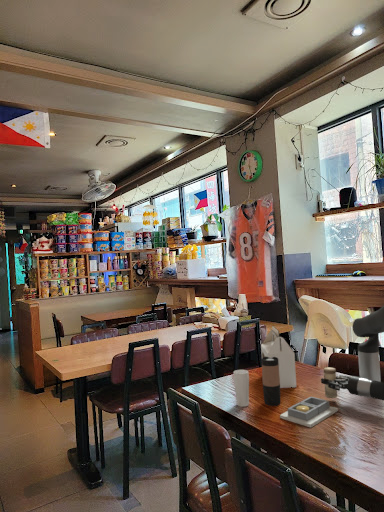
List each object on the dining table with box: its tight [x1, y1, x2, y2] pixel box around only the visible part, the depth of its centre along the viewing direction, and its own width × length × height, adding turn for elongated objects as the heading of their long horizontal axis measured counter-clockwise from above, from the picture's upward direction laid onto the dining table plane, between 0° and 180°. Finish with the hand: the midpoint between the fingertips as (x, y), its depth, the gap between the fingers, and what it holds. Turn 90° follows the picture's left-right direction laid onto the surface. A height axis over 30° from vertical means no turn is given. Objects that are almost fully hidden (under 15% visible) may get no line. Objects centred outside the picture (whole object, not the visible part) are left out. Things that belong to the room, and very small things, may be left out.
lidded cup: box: [323, 366, 338, 399], centre depth 172 cm, size 5×5×12 cm
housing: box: [279, 396, 339, 428], centre depth 160 cm, size 21×14×4 cm, turn 132°
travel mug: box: [261, 357, 282, 407], centre depth 174 cm, size 8×8×20 cm
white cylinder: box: [233, 369, 250, 408], centre depth 174 cm, size 7×7×15 cm
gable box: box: [260, 325, 297, 389], centre depth 204 cm, size 22×13×28 cm, turn 179°
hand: (324, 379), depth 174 cm, fingers closed on lidded cup, 5 cm apart
